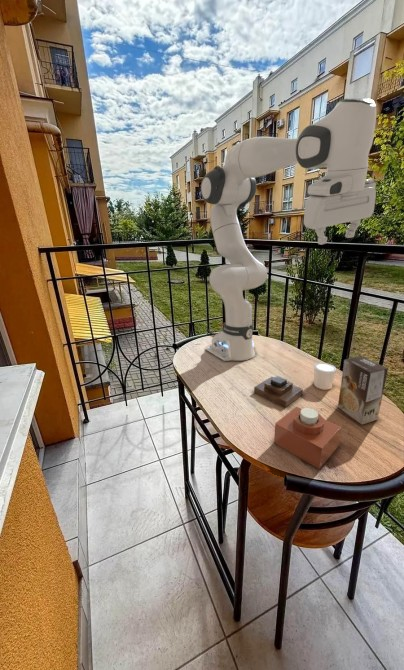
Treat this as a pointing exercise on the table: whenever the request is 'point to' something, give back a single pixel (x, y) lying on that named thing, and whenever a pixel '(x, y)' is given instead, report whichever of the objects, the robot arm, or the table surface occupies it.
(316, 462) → the push button box
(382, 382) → the coffee box
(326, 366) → the white cylinder
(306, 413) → the white push button
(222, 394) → the table surface
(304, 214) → the robot arm
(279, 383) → the switch button
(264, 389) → the switch block
